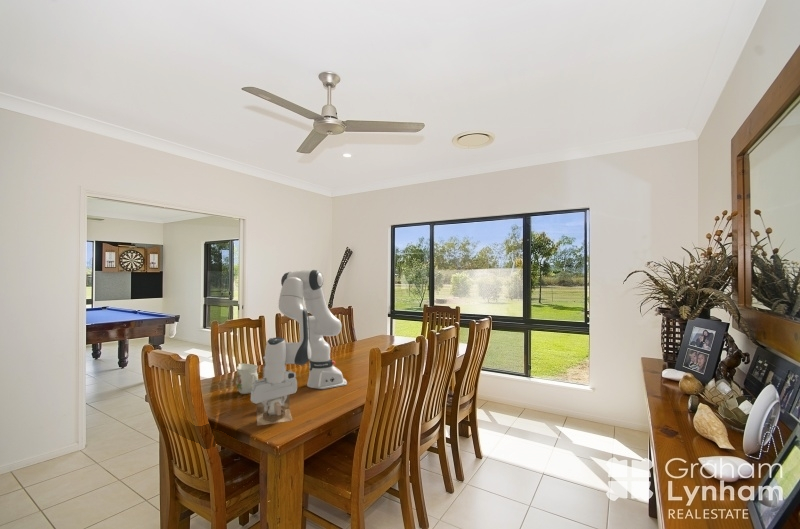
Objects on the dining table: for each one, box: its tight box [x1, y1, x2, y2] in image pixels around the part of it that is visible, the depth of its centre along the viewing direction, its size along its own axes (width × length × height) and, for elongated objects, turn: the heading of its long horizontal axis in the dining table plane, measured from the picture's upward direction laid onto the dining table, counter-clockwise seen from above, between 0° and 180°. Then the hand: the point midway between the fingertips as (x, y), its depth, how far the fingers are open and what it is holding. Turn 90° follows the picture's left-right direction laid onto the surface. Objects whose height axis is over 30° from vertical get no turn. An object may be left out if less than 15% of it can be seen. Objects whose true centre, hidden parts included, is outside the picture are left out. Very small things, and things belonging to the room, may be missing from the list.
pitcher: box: [235, 362, 259, 395], centre depth 188 cm, size 11×18×14 cm, turn 51°
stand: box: [256, 394, 293, 427], centre depth 154 cm, size 14×16×8 cm
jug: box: [268, 397, 282, 415], centre depth 152 cm, size 10×6×8 cm, turn 35°
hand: (274, 408), depth 154 cm, fingers closed on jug, 6 cm apart
